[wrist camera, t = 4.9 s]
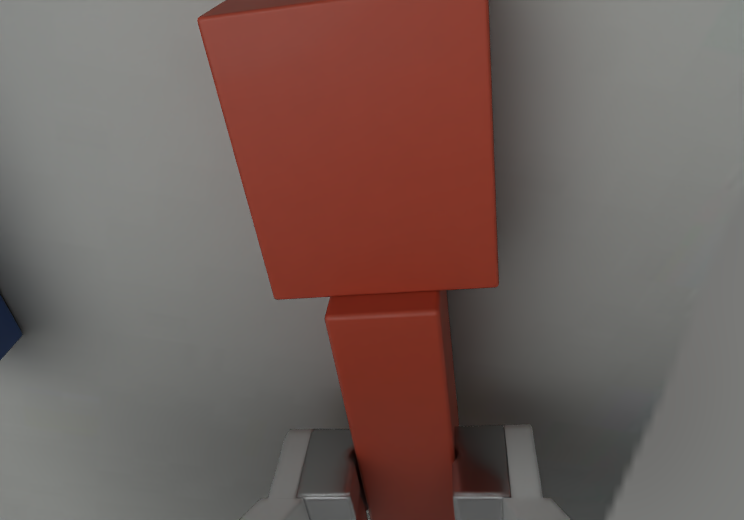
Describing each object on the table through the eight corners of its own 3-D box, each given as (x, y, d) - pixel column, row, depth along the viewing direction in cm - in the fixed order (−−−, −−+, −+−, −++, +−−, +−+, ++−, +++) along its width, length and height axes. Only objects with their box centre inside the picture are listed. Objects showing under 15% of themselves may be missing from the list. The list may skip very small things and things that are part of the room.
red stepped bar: (502, 502, 15) (512, 604, 13) (361, 502, 16) (348, 600, 14) (479, -44, 9) (490, -15, 7) (239, -10, 9) (180, 26, 7)
